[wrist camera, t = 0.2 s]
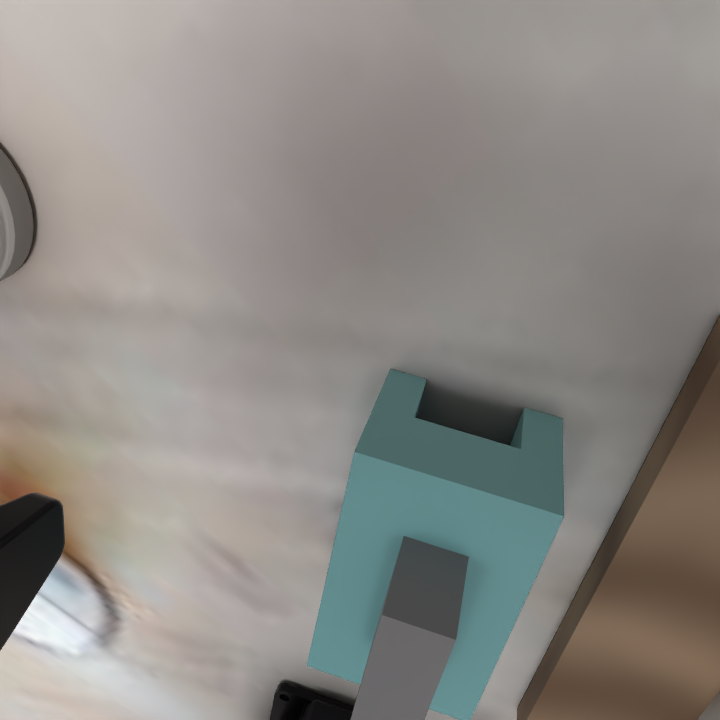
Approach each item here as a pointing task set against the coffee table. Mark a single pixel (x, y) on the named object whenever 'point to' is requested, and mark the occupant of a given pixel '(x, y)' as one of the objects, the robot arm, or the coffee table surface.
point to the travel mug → (13, 219)
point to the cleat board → (650, 584)
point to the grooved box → (434, 556)
